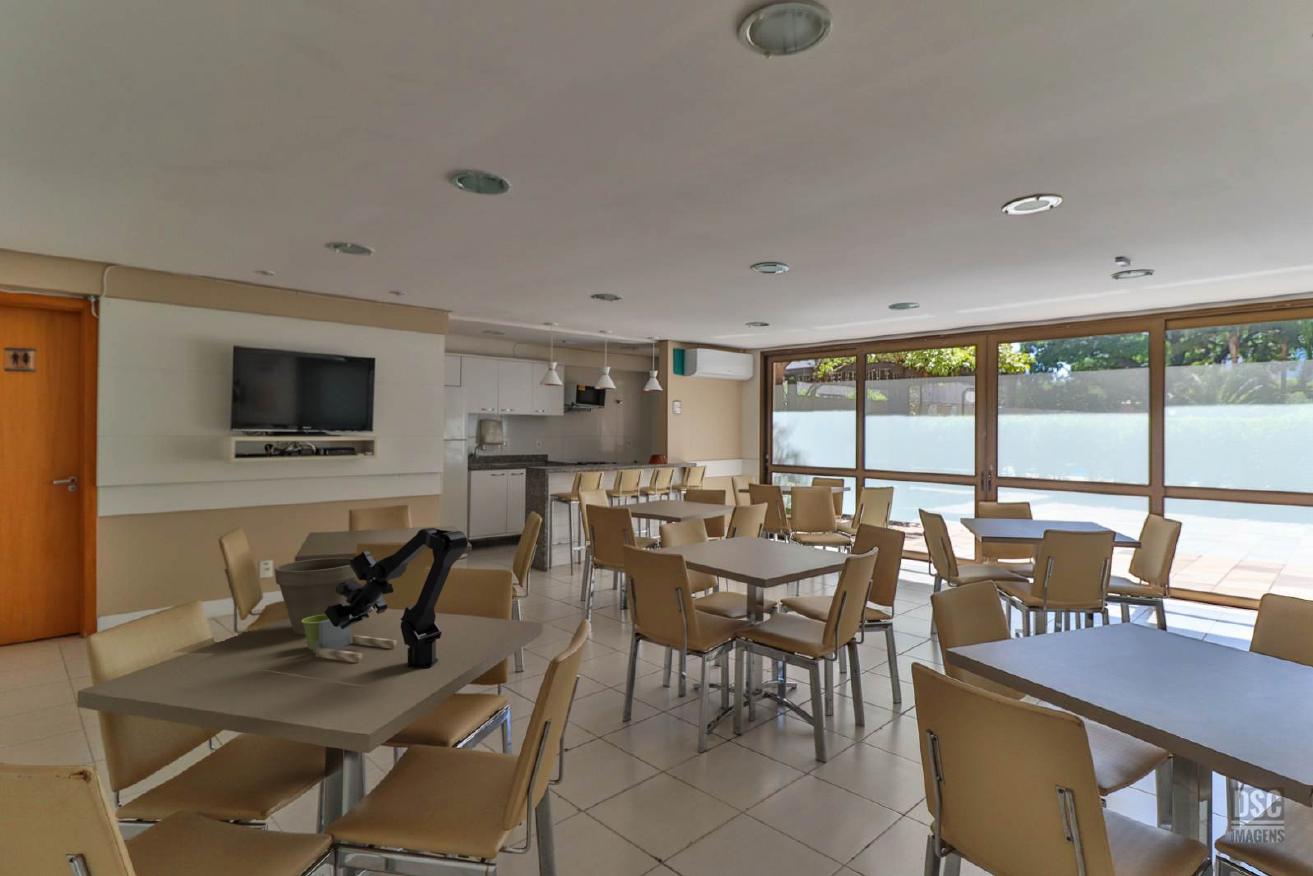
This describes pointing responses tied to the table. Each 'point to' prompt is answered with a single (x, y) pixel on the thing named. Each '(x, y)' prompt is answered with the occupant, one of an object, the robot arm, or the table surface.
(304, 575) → the plant pot
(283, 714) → the table surface
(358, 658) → the wooden rail frame
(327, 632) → the board
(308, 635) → the plant pot
